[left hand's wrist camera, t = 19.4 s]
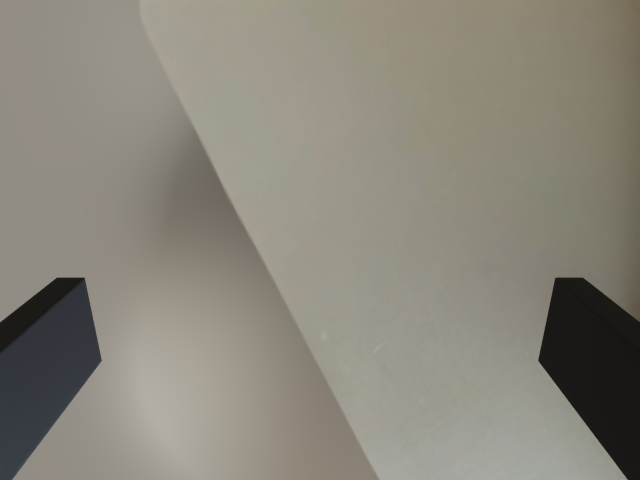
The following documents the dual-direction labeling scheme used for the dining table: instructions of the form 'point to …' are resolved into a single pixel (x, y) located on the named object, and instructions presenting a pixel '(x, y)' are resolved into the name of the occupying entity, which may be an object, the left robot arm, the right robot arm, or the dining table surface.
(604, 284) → the dining table surface
